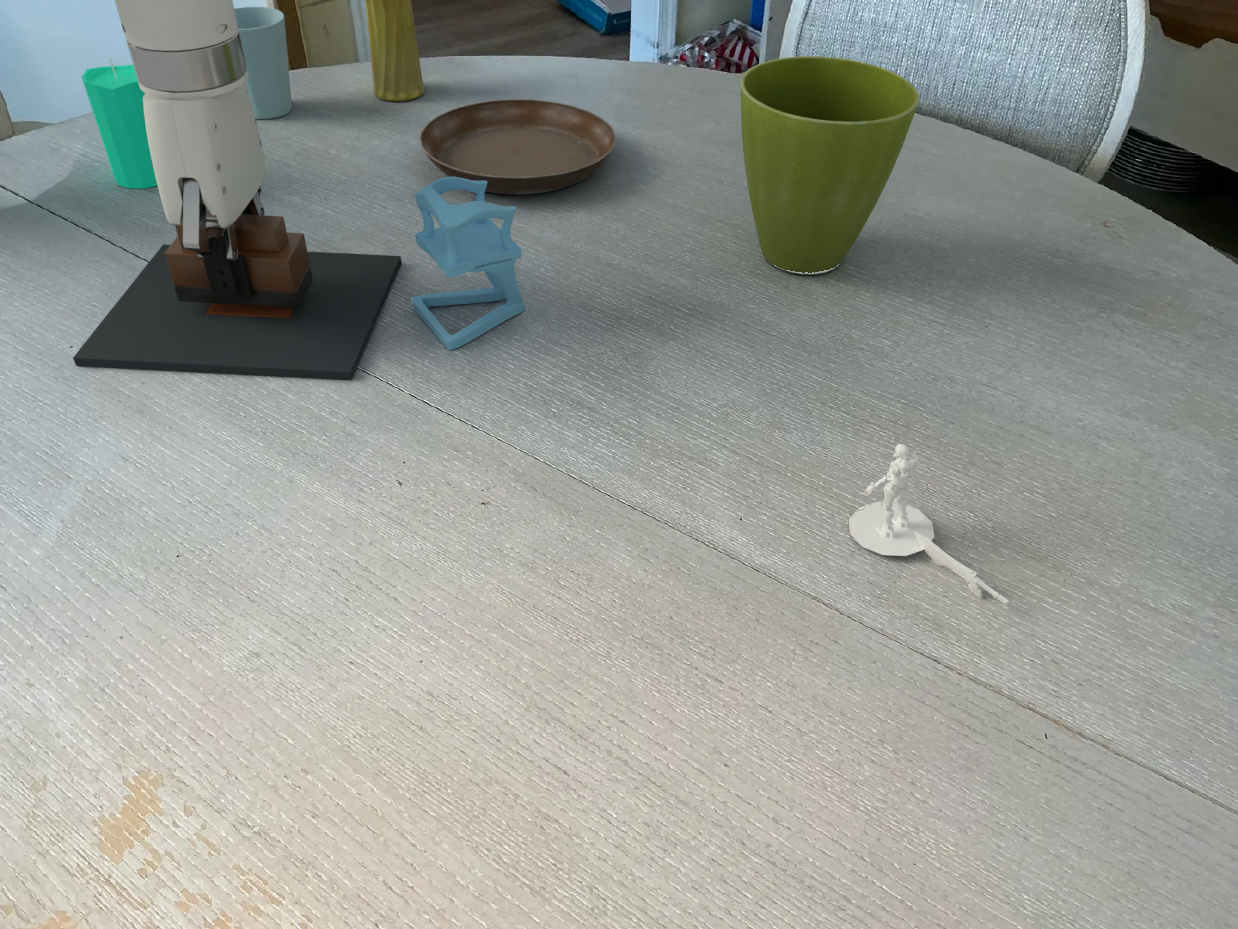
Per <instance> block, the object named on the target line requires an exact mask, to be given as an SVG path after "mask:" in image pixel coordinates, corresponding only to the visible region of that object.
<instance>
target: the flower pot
mask: <svg viewBox="0 0 1238 929" xmlns="http://www.w3.org/2000/svg"><path fill="white" fill-rule="evenodd" d="M739 83H740V117H741V119H740V122H741V140H742V151H743V160H744V169H745V176H746V184H747V189H748V195H749V201H750V206H751V211H752V215H753V221H754V225H755V229H756V234H757V238H758V241H759V245H760V248H761V252H762V255H763V258H764V257H765V258H766V259H767V260H768V261H769V262H770V263H771V264H773V265H776V266H777V267H779V268H782V269H784V270H790V271H795V272H802V273H805V272H808V273H812V272H814V273H815V272H819V271H824V270H829V269H831V268H834V267H836V266H837V265H838V264H840V265H841V264H842V262H843V261H844V259H845V258H846V256H847V255H848V253H849V252H850V250H851V249H852V247H853V245H854V244H855V242H856V240H857V238H858V237H859V235H860V234H861V232H862V231H863V228H865V225H866V223H867V222H868V220H869V218H870V216H871V214H872V213H873V210H874V209H875V207H876V205H877V204H878V201H879V199H880V197H881V195H882V193H883V191H884V190H885V187H886V185H887V184H888V181H889V178H890V177H891V175H892V173H893V170H894V168H895V166H896V163H897V161H898V159H899V156H900V153H901V151H902V149H903V145H904V143H905V140H906V139H907V136H908V132H909V130H910V127H911V124H912V122H913V120H914V117H915V115H916V111H917V108H918V105H919V102H920V94H919V92H918V90H917V88H916V87H915V86H914V85H913V84H912V83H911V82H910V80H908V79H906V78H905V77H903V76H902V75H900V74H898V73H896V72H893V71H892V70H890V69H887V68H884V67H882V66H879V65H875V64H872V63H868V62H864V61H859V60H854V59H848V58H842V57H834V56H833V57H832V56H818V55H817V56H816V55H815V56H814V55H803V56H801V55H800V56H790V57H788V56H787V57H780V58H775V59H771V60H766V61H764V62H760V63H758V64H756V65H753V66H752V67H751V68H749V69H747V70H746V71H745V72H744V74H743V75H742V76H741V79H740V82H739ZM765 258H764V259H765ZM766 259H765V260H766ZM767 260H766V261H767ZM768 261H767V262H768ZM769 262H768V263H769ZM770 263H769V264H770ZM771 264H770V265H771Z"/></svg>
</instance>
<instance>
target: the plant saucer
mask: <svg viewBox="0 0 1238 929" xmlns="http://www.w3.org/2000/svg"><path fill="white" fill-rule="evenodd" d="M616 135H617V134H616V132H615V130H614V129H613V127H612V126H611V124H610V123H609V122H608V121H606V120H605V119H604V118H603V117H600V116H599V115H597V114H595V113H593V112H592V111H589V110H586V109H584V108H582V107H581V108H580V107H578V106H574V105H570V104H565V103H561V102H555V101H549V100H541V99H529V98H528V99H527V98H526V99H525V98H523V99H522V98H510V99H507V98H506V99H496V100H495V99H494V100H487V101H486V100H485V101H480V102H474V103H470V104H466V105H462V106H459V107H455V108H453V109H450V110H447V111H444V112H442V113H441V114H439V115H437V116H435V117H434V118H432V119H431V120H429V121H428V122H427V123H426V124H425V125H424V127H423V128H422V129H421V131H420V134H419V137H418V138H419V145H420V147H421V149H422V151H423V152H424V154H425V155H426V156H427V158H428V159H429V160H430V161H431V163H432V164H433V165H434V166H435V167H436V168H438V169H439V171H441V172H443V173H444V174H445V175H446V176H447V177H459V178H464V179H468V180H474V181H487V186H486V189H485V192H488V193H492V194H493V193H494V194H501V195H534V194H535V195H536V194H542V193H549V192H554V191H557V190H561V189H564V188H567V187H570V186H572V185H574V184H577V183H579V182H581V181H582V180H585V179H586V178H587V177H589V176H590V175H591V174H593V173H594V172H595V171H596V170H598V168H600V166H602V164H603V163H604V162H605V161H606V160H607V158H608V157H609V156H610V154H611V153H612V151H613V149H614V147H615V145H616V142H617V136H616ZM579 142H580V143H579Z"/></svg>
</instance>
